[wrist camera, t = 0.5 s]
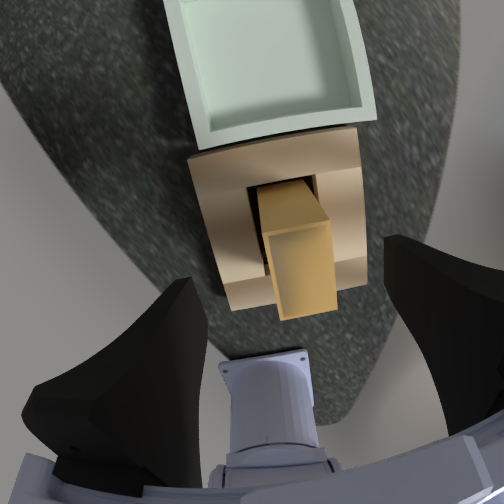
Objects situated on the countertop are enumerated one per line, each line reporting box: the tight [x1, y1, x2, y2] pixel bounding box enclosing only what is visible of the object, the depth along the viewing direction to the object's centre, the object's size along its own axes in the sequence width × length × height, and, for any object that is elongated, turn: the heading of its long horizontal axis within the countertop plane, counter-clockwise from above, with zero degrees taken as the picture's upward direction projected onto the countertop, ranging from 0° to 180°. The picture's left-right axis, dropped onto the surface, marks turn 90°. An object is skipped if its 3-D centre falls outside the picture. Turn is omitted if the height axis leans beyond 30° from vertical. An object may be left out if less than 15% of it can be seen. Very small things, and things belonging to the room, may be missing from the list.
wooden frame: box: [187, 126, 367, 311], centre depth 20 cm, size 11×10×2 cm
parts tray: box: [163, 0, 377, 150], centre depth 14 cm, size 10×10×2 cm
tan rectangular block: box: [257, 179, 337, 321], centre depth 17 cm, size 5×3×7 cm, turn 12°
